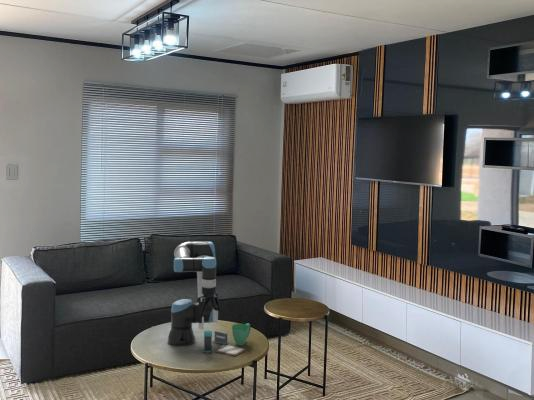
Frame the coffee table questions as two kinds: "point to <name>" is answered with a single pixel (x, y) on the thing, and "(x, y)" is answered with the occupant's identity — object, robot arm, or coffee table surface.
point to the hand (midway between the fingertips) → (208, 325)
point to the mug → (241, 333)
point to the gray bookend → (220, 338)
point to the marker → (207, 342)
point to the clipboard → (230, 350)
